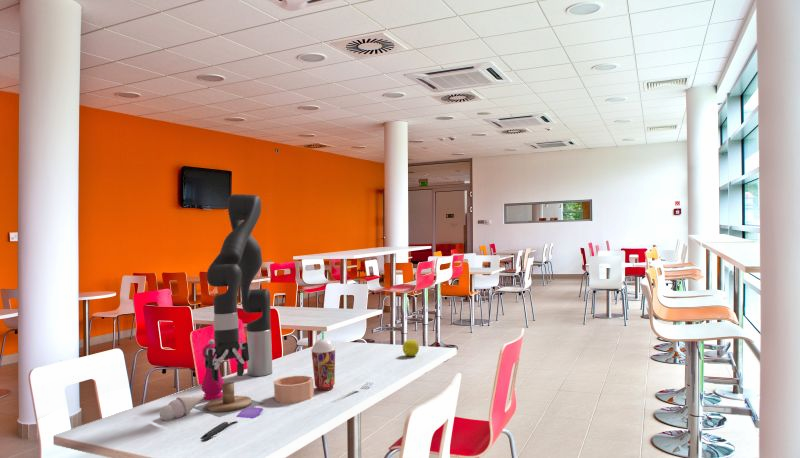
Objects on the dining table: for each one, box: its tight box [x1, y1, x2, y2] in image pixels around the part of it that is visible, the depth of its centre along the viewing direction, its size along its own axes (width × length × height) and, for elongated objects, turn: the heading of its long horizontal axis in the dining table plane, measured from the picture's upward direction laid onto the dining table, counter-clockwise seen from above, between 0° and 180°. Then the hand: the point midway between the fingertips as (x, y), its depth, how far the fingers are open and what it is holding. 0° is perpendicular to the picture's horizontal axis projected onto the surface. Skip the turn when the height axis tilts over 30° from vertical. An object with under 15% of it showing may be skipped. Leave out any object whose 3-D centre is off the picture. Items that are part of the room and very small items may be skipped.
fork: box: [331, 381, 374, 403], centre depth 189 cm, size 3×24×2 cm, turn 147°
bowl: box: [273, 375, 315, 404], centre depth 187 cm, size 12×12×6 cm
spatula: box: [200, 406, 264, 442], centre depth 162 cm, size 24×7×2 cm, turn 159°
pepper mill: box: [201, 338, 225, 401], centre depth 191 cm, size 7×7×20 cm
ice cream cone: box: [159, 395, 205, 421], centre depth 174 cm, size 6×6×15 cm
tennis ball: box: [402, 339, 420, 357], centre depth 246 cm, size 7×7×7 cm
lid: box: [205, 381, 253, 412], centre depth 181 cm, size 14×14×7 cm
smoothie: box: [311, 330, 336, 392], centre depth 199 cm, size 8×8×20 cm
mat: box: [193, 399, 266, 418], centre depth 181 cm, size 16×16×1 cm
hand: (228, 378), depth 181 cm, fingers open, 8 cm apart
